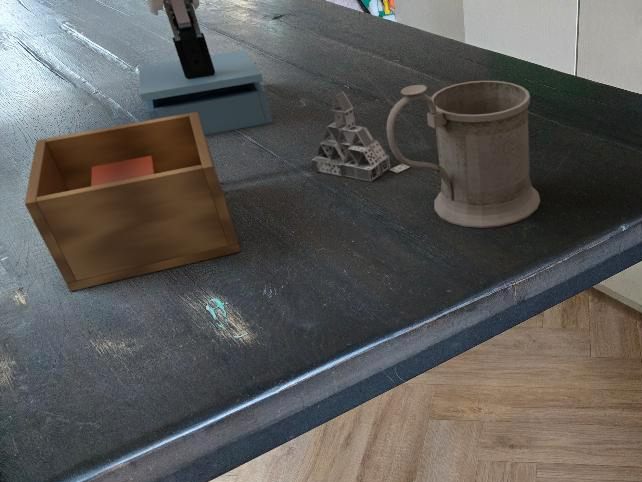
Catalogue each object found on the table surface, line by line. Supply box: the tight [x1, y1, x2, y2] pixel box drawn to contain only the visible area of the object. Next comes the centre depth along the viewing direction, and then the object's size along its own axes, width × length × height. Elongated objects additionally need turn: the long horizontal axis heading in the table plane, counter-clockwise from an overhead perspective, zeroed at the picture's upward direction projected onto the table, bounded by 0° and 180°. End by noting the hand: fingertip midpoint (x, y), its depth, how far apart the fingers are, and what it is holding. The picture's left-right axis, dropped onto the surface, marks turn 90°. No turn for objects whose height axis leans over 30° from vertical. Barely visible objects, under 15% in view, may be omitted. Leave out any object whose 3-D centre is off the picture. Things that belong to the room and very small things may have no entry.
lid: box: [138, 49, 264, 102], centre depth 84 cm, size 15×13×1 cm
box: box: [144, 81, 274, 136], centre depth 86 cm, size 15×13×4 cm
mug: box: [386, 80, 541, 229], centre depth 63 cm, size 14×10×12 cm
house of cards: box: [311, 90, 410, 183], centre depth 73 cm, size 9×9×8 cm
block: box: [91, 156, 158, 186], centre depth 64 cm, size 5×5×5 cm
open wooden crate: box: [24, 112, 241, 292], centre depth 63 cm, size 14×14×8 cm
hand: (200, 74), depth 81 cm, fingers closed
